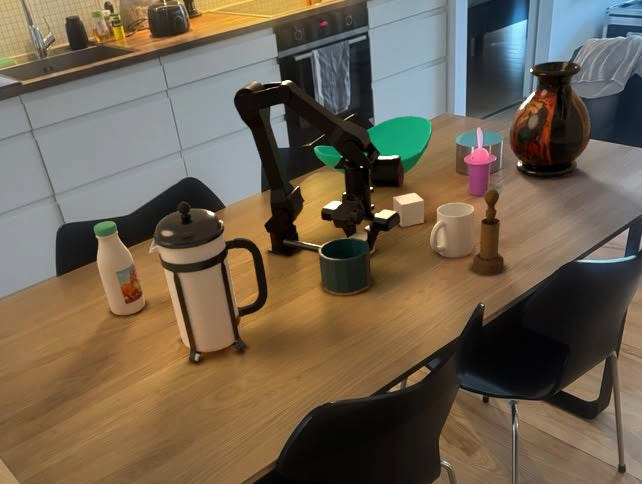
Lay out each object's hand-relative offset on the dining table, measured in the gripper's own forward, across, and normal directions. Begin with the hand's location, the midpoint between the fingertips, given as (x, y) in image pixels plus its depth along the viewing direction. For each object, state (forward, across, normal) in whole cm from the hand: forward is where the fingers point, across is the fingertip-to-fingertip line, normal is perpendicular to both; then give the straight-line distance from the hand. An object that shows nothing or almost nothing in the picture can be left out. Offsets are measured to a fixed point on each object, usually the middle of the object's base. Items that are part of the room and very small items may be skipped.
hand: (361, 249), depth 163 cm
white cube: (+1, +1, +21) cm, 21 cm away
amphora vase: (+1, +20, +67) cm, 70 cm away
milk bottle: (+1, -34, -45) cm, 56 cm away
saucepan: (+1, 0, -14) cm, 14 cm away
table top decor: (+1, -23, +44) cm, 50 cm away
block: (+1, 0, 0) cm, 1 cm away
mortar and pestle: (+1, +30, +5) cm, 30 cm away
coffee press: (+1, -5, -46) cm, 46 cm away
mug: (+1, +19, +8) cm, 21 cm away
